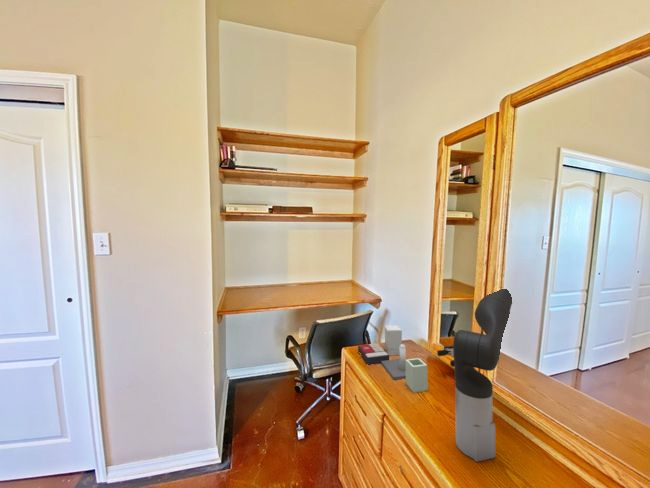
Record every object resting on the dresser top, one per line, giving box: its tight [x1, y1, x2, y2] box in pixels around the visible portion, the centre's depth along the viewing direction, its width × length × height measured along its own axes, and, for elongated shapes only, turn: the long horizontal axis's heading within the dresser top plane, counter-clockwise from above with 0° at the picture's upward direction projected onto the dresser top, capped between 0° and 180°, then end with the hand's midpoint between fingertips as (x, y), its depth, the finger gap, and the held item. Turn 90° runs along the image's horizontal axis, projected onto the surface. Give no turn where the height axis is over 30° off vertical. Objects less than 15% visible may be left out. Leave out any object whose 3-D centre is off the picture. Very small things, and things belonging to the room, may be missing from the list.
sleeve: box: [405, 357, 429, 393], centre depth 106 cm, size 6×6×10 cm
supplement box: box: [384, 324, 403, 356], centre depth 136 cm, size 7×7×13 cm
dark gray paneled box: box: [357, 343, 390, 366], centre depth 132 cm, size 11×4×15 cm
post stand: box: [381, 343, 409, 381], centre depth 119 cm, size 14×13×12 cm
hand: (444, 358), depth 108 cm, fingers open, 8 cm apart
